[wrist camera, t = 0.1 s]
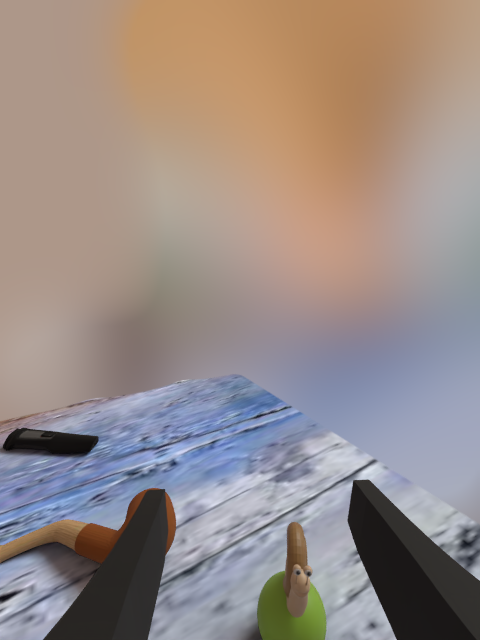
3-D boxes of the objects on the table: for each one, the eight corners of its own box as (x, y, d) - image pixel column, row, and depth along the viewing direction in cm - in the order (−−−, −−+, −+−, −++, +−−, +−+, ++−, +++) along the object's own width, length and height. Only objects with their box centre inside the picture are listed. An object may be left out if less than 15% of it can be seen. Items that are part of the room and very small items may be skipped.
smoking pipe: (175, 582, 29) (173, 533, 28) (-43, 621, 25) (-57, 567, 24) (177, 518, 36) (175, 477, 34) (5, 543, 32) (-4, 498, 31)
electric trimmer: (90, 462, 45) (89, 444, 45) (1, 452, 47) (-2, 434, 46) (104, 446, 49) (103, 430, 48) (20, 438, 51) (18, 421, 50)
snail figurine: (254, 701, 21) (258, 566, 18) (257, 598, 27) (261, 487, 25) (332, 713, 20) (348, 576, 18) (317, 606, 27) (328, 493, 24)
